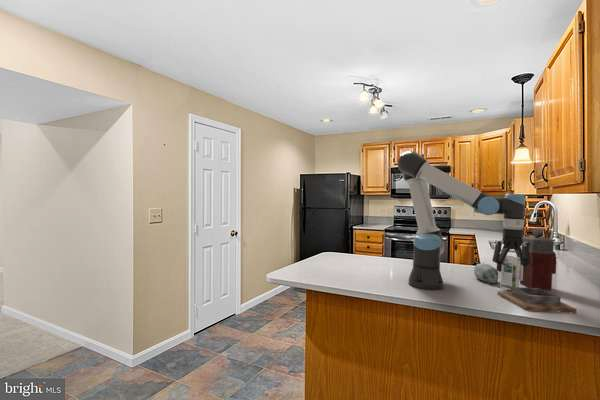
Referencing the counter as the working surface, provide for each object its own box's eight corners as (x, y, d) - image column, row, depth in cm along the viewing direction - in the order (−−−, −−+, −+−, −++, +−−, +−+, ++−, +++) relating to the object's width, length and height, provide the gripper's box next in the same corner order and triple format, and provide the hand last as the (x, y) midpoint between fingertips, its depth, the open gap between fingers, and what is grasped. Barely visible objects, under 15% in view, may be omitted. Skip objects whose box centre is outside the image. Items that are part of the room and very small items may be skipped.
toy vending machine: (557, 290, 141) (560, 229, 141) (530, 289, 143) (533, 228, 142) (544, 285, 150) (547, 227, 150) (519, 283, 152) (522, 226, 151)
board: (525, 310, 115) (526, 298, 115) (497, 294, 133) (498, 284, 133) (576, 312, 114) (576, 300, 114) (541, 296, 132) (541, 286, 132)
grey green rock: (506, 279, 147) (494, 259, 150) (487, 286, 148) (475, 267, 151) (495, 278, 160) (484, 260, 163) (477, 285, 161) (467, 267, 164)
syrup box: (499, 287, 139) (501, 255, 139) (505, 285, 143) (507, 254, 142) (514, 291, 135) (515, 258, 134) (519, 289, 138) (521, 256, 138)
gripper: (494, 228, 135) (491, 280, 135) (543, 230, 134) (539, 282, 134) (484, 226, 142) (482, 275, 143) (531, 228, 141) (528, 278, 142)
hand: (510, 279), depth 139 cm, fingers closed on syrup box, 8 cm apart
